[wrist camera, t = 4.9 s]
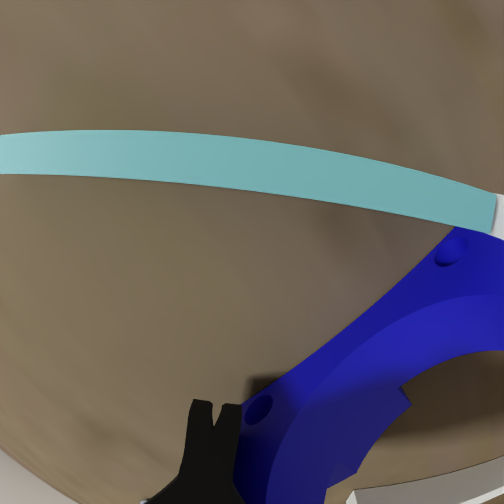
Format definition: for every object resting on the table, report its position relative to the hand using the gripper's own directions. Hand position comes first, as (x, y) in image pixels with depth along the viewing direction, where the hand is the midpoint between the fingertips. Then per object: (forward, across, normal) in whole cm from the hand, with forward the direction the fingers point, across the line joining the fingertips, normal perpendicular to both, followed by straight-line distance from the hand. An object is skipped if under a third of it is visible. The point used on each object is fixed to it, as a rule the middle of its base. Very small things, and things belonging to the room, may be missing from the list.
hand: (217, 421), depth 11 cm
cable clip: (+2, -6, -2) cm, 7 cm away
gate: (+1, +1, -9) cm, 9 cm away
